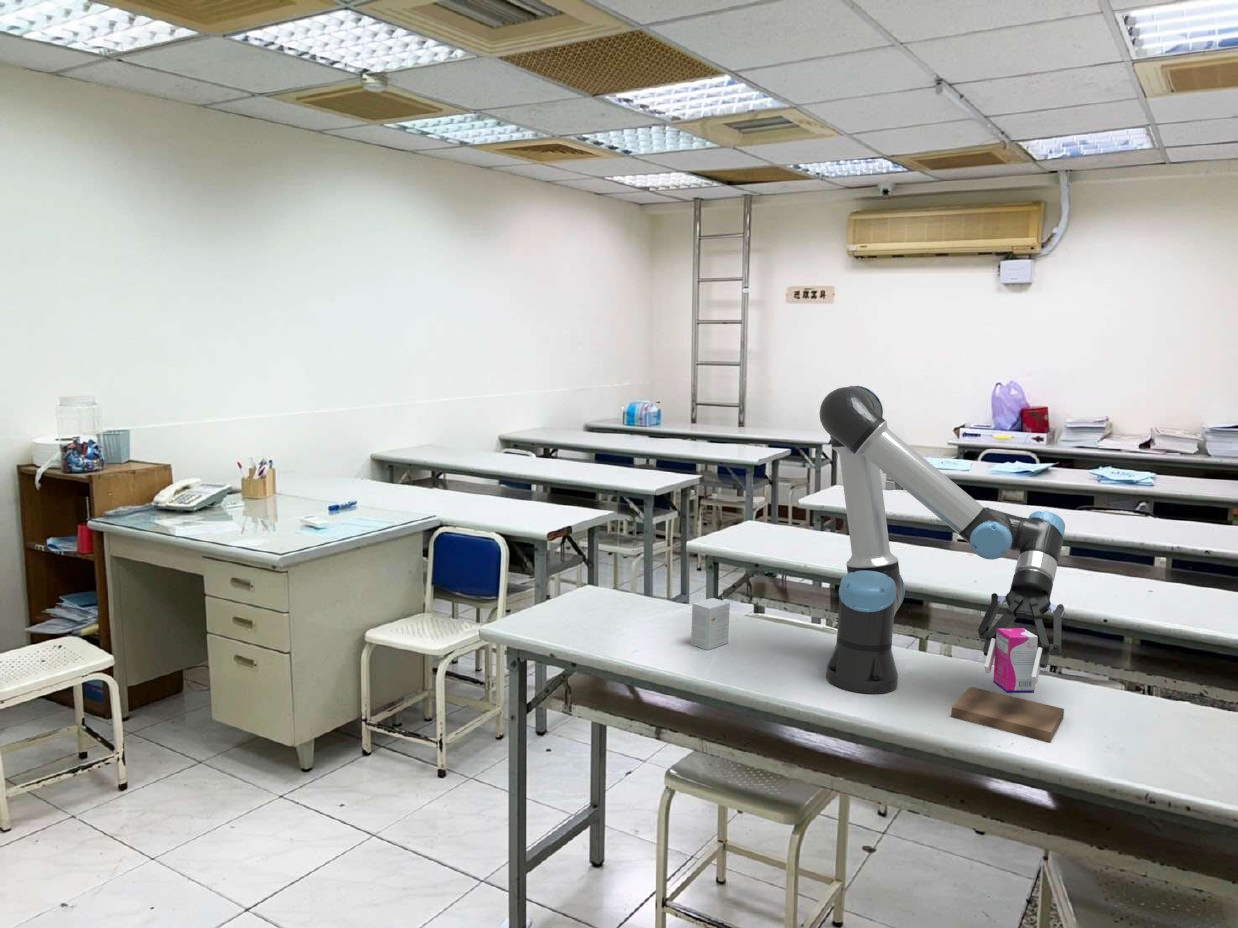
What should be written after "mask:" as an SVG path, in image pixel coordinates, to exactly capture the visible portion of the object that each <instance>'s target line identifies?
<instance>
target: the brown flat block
mask: <svg viewBox="0 0 1238 928" xmlns="http://www.w3.org/2000/svg"><path fill="white" fill-rule="evenodd" d="M950 710H951V713H950V718H954V719H958V718H959V720H961V721H965V722H970V723H973V724H978V725H981V726H985V727H989V728H993V729H997V730H1000V731H1004V732H1008V733H1013V734H1016V735H1019V736H1024V737H1028V738H1030V739H1036V740H1039V741H1043V742H1047V743H1051V742H1052V740H1053V738H1054V736H1055V735H1056V733H1057V731H1058V729H1059V727H1060V726H1061V724H1062V721H1063V720H1064V715H1065V708H1063V707H1059V706H1054V705H1050V704H1046V703H1042V702H1037V701H1032V700H1029V699H1025V698H1020V697H1017V696H1012V695H1007V694H1004V693H999V692H995V691H992V690H986V689H984V688H983V689H982V688H979V687H974V686H969V687H968V688H967V689H966V691H964V693H963V694H962V695H960V697H959V698H958V699H957V701H956V702H955V703H954V704H953V705H951V709H950Z"/></svg>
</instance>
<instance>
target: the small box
mask: <svg viewBox="0 0 1238 928" xmlns="http://www.w3.org/2000/svg"><path fill="white" fill-rule="evenodd" d="M730 604H731V603H730V602H728V601H725V600H722V599H718V598H715V597H710V598H707V599H703V600H700V601H696V602H694V603H692V606H691V633H690V635H691V637H690V638H691V639H690V641H691V642H690V645H691V646H694V647H697V648H700V649H703V650H706V651H709V650H712V649H716V648H718V647H721V646H724V645H727V644H728V643H729V630H730V625H729V624H730V609H731V608H730Z"/></svg>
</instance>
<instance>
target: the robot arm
mask: <svg viewBox="0 0 1238 928" xmlns="http://www.w3.org/2000/svg"><path fill="white" fill-rule="evenodd" d="M882 404H883V403H882V401H881V400H880V398H879V397H878V395H877V394H876V393H875V392H874V391H872V390H871V389H870V388H867V387H866V386H865V387H864V386H862V385H850V386H844V387H838V388H836V389H834V390H832V391H830V392H829V393H828V394H827V395H826V396H825V397H824V399H823V400H822V402H821V405H820V406H819V421H820V423H821V426H822V427H823V429H824V430H825V431H826V433H827V434H828V435H829V436H830V445H831V446H830V447H831V449H832V450H834V451H835V452H836V453H837V454H838V456H839V463H840V470H841V479H842V486H843V492H844V493H843V495H844V501H845V502H844V504H845V509H846V511H845V512H846V519H847V527H848V534H849V543H850V549H851V551H850V552H851V556H850V558H849V559H848V560H847V561H846V563H845V564H846V572H847V573H846V574H845V575H843V577H842V578H841V580H840V585H839V587H838V596H839V598H838V612H837V613H838V614H837V615H838V616H837V632H836V633H837V634H836V643H835V646H834V649H833V651H832V653H831V656H830V658H829V661H828V663H827V665H826V673H825V674H826V679H827V680H828V682H829V683H831V684H832V685H834V686H836V687H838V688H841V689H843V690H846V691H847V690H848V691H850V692H854V693H855V692H856V693H862V694H884V693H890V692H893V691H894V690H896V689H897V688H898V683H899V682H898V681H899V673H898V670H897V665H896V662H895V659H894V654H893V650H892V648H893V647H892V646H893V633H894V620H895V615H896V613H897V611H898V610H899V608H900V607H901V605H902V604H903V601H904V599H905V593H906V588H905V582H904V579H903V577H902V575H901V573H900V571H901V570H900V565H899V559H898V557H897V556H896V555H894V554H893V553H892V552H891V548H890V547H891V546H890V540H889V533H888V532H889V531H888V524H887V523H888V522H887V515H886V507H885V501H884V500H885V499H884V498H885V497H884V491H883V484H882V482H883V481H882V474H881V471H882V472H883V473H884V474H885V475H887V476H888V477H889V478H891V480H892V481H894V482H895V483H896V484H897V485H899V486H900V487H901V488H902V489H904V490H905V491H906V492H907V493H909V494H910V495H911V496H912V497H913V498H914V499H915V500H917V501H918V502H919V503H920V504H922V506H925V508H926V509H927V510H929V511H930V512H931V513H932V514H934V515H935V516H936V517H937V518H938V519H940V520H941V521H942V522H943V523H944V524H945V525H947V526H949V528H951V529H952V530H953V531H954V532H956V533H957V535H958V536H960V538H962V539H963V540H964V541H966V542H967V543H968V544H969V545H970V547H971V549H972V551H973V552H974V553H975V555H977V556H979V557H980V558H982V559H984V560H991V561H992V560H993V561H994V560H998V559H1000V558H1003V557H1004V556H1005V555H1006V554H1008V552H1009V551H1013V552H1018V553H1019V554H1018V558H1017V561H1016V565H1015V569H1014V574H1013V577H1012V581H1011V584H1010V589H1009V591H1008V593H1007V594H1006V595H998V594H997V593H995V592H993V593H992V594H991V597H990V598H991V599H990V600H991V601H990V604H989V606H988V609H987V610H986V612H985V614H984V617H983V618H982V621H981V622H980V624H979V626H978V629H977V633H978V636H979V638H980V639H981V640H985V641H984V644H983V648H982V651H983V655H984V657H985V656H986V659H985V662H984V670H985V673H986V674H988V675H990V674H991V672H992V668H993V665H994V661H995V645H996V629H997V628H1008V627H1009V626H1010V624H1012V622H1014V621H1015V620H1016V619H1017V618H1019V619H1026V620H1029V621H1034V622H1035V627H1036V630H1037V634H1038V638H1039V640H1040V645H1041V647H1039V646H1037V654H1036V658H1035V663H1034V667H1033V672H1032V676H1031V677H1032V683H1034V684H1035V685H1037V684H1038V681H1039V676H1040V670H1041V669H1046V668H1047V667H1048V663H1049V658H1050V655H1051V654H1055V655H1058V654H1059V655H1060V654H1061V653H1062V620H1063V619H1064V616H1065V615H1066V614H1065V613H1066V612H1065V605H1063V604H1061V603H1059V604H1054V603H1051V594H1052V591H1053V587H1054V581H1055V579H1056V572H1057V570H1058V564H1059V560H1060V556H1061V552H1062V548H1063V543H1064V540H1065V537H1064V536H1065V530H1066V524H1065V521H1064V520H1063V518H1062V517H1061V516H1059V515H1058V514H1056V513H1054V512H1052V511H1049V510H1045V511H1040V510H1037V511H1034V512H1031V513H1030V514H1029V516H1028V517H1023V516H1019V515H1014V514H1011V513H1007V512H1004V511H1000V510H998V509H997V510H996V509H993V508H990V507H988V506H986V507H985V506H983V505H982V504H981V503H979V502H978V501H977V500H976V499H974V498H973V497H972V496H971V495H970V494H968V493H967V491H965V490H963V489H962V488H961V487H960V486H958V485H957V484H956V483H955V482H954V481H952V480H951V479H950V478H949V477H947V475H945V474H944V473H943V472H941V471H940V470H939V469H938V468H936V467H935V466H934V465H933V464H932V463H930V461H928V460H927V459H925V458H924V457H923V456H922V455H920V454H919V453H918V452H917V451H916V450H915V449H914V448H912V447H911V446H910V445H908V444H907V443H906V442H904V441H903V440H902V439H901V438H900V437H899V436H898V435H896V433H894V432H893V431H892V430H890V429H889V427H888V421H887V420H886V419H885V418H884V417H883V415H884V408H883V405H882ZM1005 603H1006V604H1007V605H1008V606H1007V608H1006V609H1005V612H1004V613H1003V614H1002V616H1001V617H1000V618H999V619H998V620H997V622H996V623H995V624H994V625H993V626H992V624H993V623H994V621H995V618H996V617H997V615H998V613H999V609H1000V608H1001V607H1002V606H1003V605H1004V604H1005ZM1049 611H1050V612H1051V615H1052V616H1053V637H1052V638H1053V641H1052V642H1053V643H1049V639H1048V636H1047V633H1046V628H1045V625H1044V622H1043V618H1042V616H1043V615H1044V614H1046V613H1047V612H1049Z"/></svg>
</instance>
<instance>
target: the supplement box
mask: <svg viewBox="0 0 1238 928" xmlns="http://www.w3.org/2000/svg"><path fill="white" fill-rule="evenodd" d="M1038 639H1039V636H1038V635H1036V634H1035V633H1032V632H1030V631H1029V630H1027V629H1025V628H1023V627H1022V628H1021V627H1019V628H1018V627H1012V628H1011V627H1010V628H1008V627H1007V628H997V629H996V645H995V656H994V661H993V665H994V667H993V678H992V679H993V681H992V682H993V684H995V685H996V687H999V688H1000V689H1001V690H1002V691H1003V692H1004V693H1006V694H1032V693H1033V694H1035V688H1036V686H1035V685H1036V684H1034V683H1032V677H1031V676H1032V672H1033V667H1034V663H1035V658H1036V654H1037V649H1038Z"/></svg>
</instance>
